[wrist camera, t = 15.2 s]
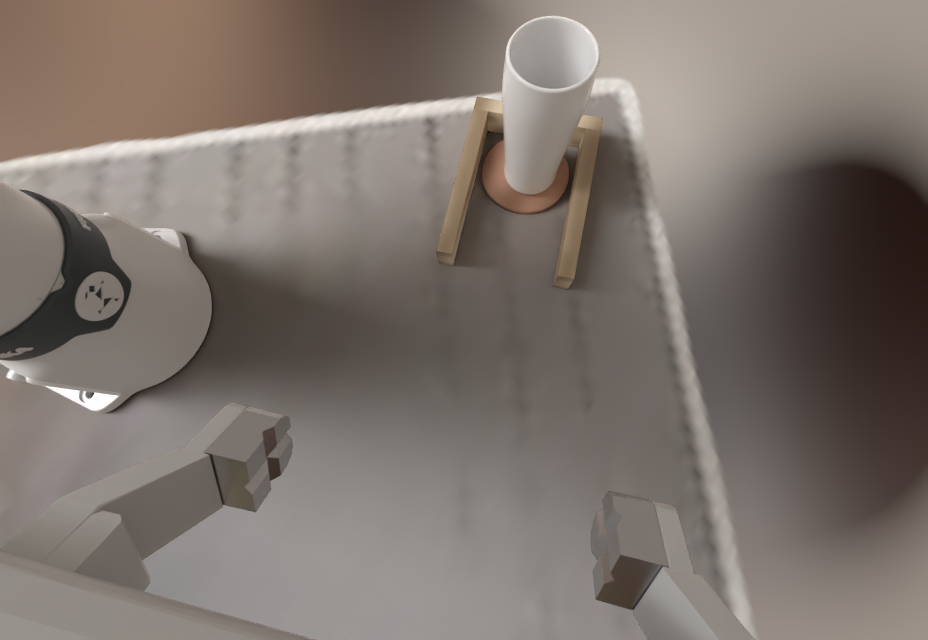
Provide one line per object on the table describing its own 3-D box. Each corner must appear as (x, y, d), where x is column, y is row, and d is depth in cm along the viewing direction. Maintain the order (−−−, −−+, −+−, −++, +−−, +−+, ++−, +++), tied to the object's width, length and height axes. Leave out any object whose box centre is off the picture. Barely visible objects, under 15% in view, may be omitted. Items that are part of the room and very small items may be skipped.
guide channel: (438, 262, 43) (436, 250, 40) (477, 117, 47) (476, 96, 44) (567, 289, 42) (574, 278, 39) (595, 137, 46) (603, 118, 43)
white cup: (571, 192, 44) (617, 76, 30) (509, 211, 44) (523, 104, 29) (548, 138, 46) (580, 2, 31) (488, 156, 45) (491, 29, 31)
